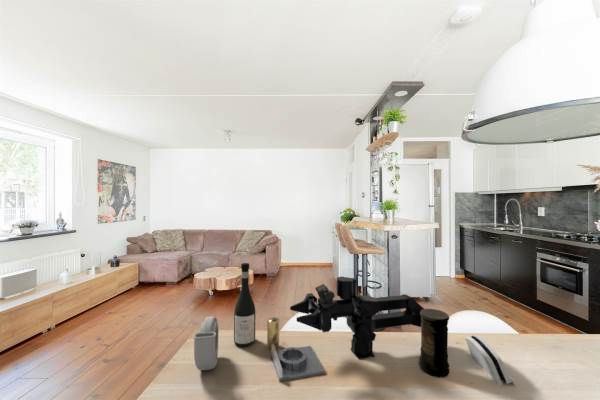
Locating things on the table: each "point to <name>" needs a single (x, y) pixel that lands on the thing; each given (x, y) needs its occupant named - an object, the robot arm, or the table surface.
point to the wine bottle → (244, 313)
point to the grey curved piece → (488, 359)
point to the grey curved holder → (206, 344)
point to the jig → (296, 362)
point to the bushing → (273, 332)
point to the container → (434, 343)
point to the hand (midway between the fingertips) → (293, 313)
